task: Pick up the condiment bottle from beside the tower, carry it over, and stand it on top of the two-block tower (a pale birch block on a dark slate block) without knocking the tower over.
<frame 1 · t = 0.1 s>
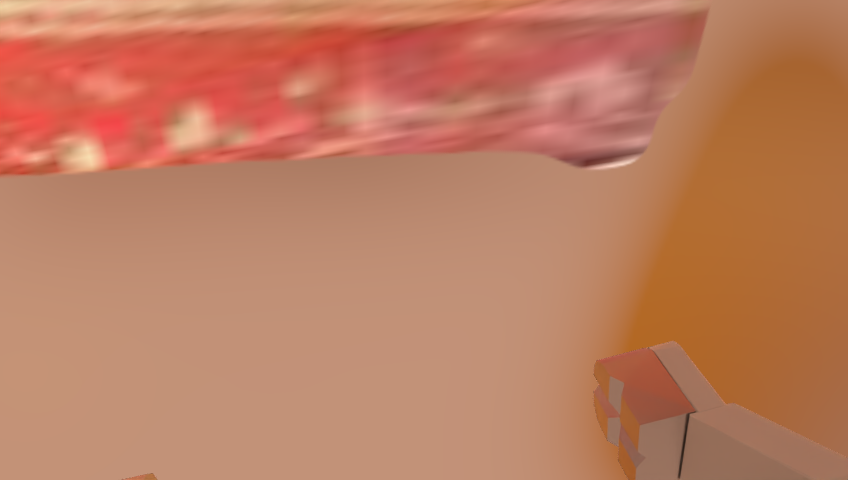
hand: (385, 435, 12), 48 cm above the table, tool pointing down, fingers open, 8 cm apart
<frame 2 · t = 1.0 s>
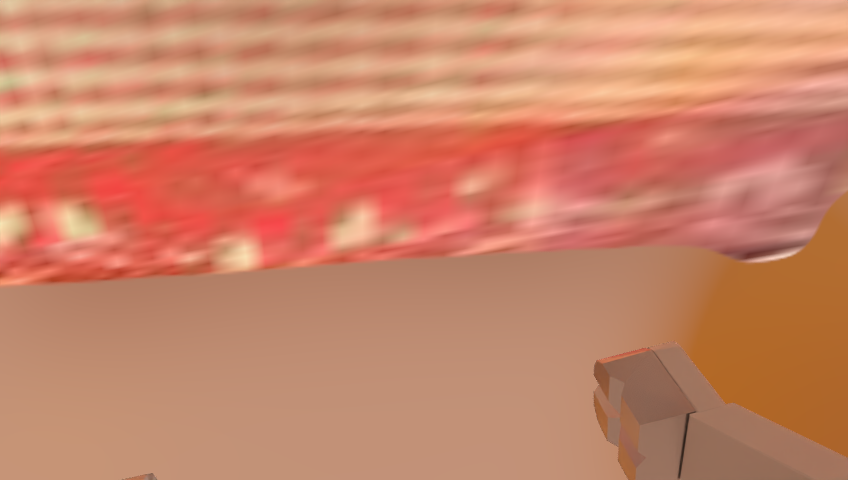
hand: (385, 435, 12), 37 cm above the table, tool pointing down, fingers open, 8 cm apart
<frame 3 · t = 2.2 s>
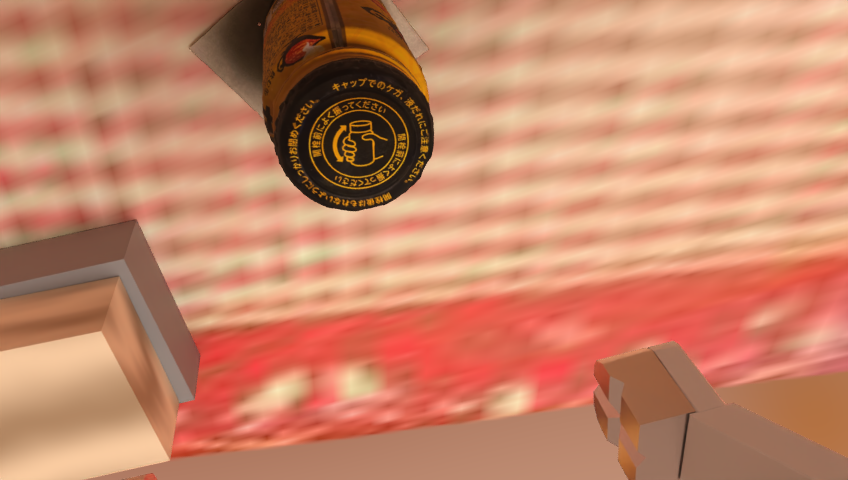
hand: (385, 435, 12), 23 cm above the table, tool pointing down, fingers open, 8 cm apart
tower block upper: (62, 362, 33), point 4 cm above the table, touching tower block lower
condiment: (312, 45, 31), on the table
tower block lower: (82, 308, 37), on the table, touching tower block upper
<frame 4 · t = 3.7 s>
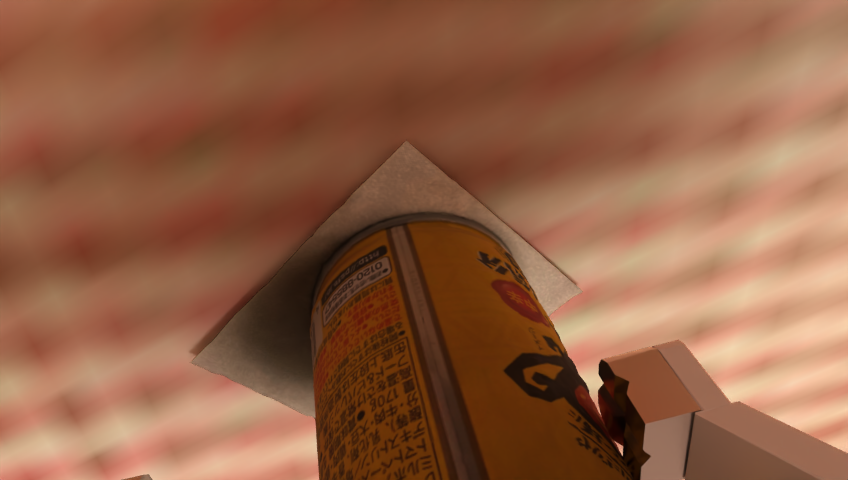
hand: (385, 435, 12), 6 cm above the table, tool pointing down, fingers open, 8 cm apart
condiment: (391, 314, 19), on the table, touching gripper
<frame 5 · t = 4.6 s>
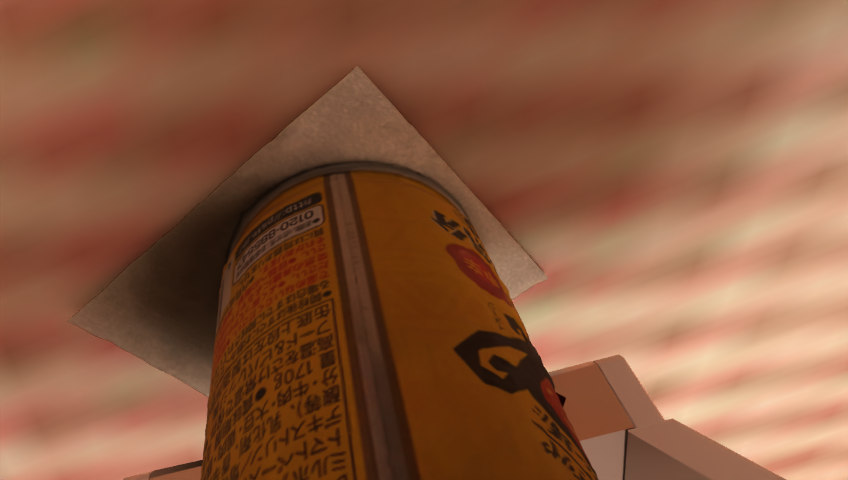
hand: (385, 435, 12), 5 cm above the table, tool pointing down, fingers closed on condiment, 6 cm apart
condiment: (323, 285, 16), on the table, touching gripper
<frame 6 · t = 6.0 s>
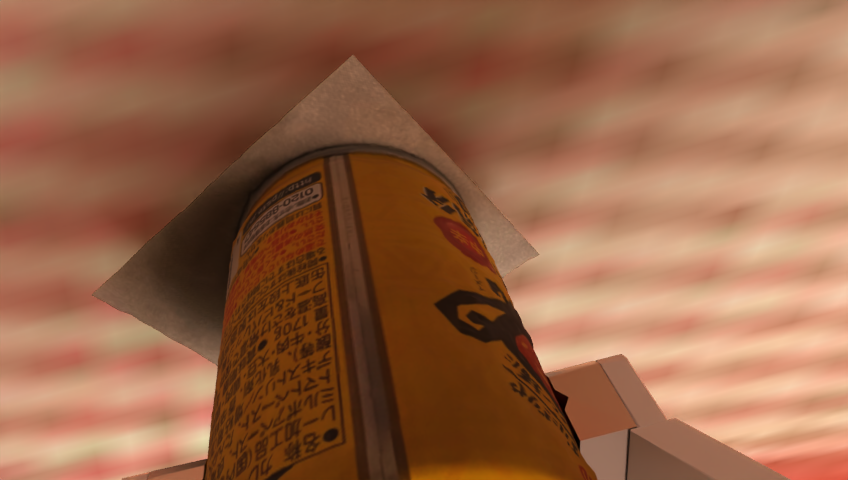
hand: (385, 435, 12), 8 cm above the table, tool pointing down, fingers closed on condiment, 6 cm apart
condiment: (327, 262, 17), point 2 cm above the table, touching gripper
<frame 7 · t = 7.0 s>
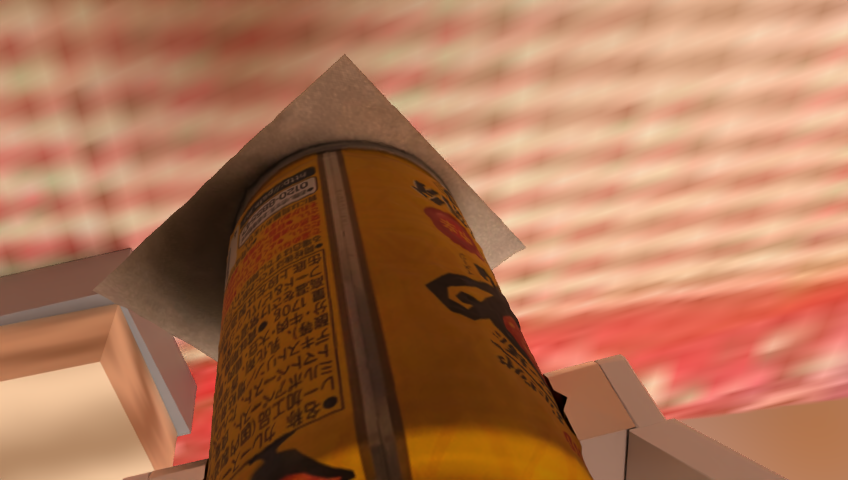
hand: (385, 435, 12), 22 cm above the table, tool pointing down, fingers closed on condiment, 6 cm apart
tower block upper: (56, 392, 32), point 4 cm above the table, touching tower block lower
condiment: (321, 257, 17), point 15 cm above the table, touching gripper
tower block lower: (75, 339, 35), on the table, touching tower block upper
when the fingers open (14 cm above the table, at t = 11.3 s): condiment moves 2 cm, resting on tower block upper.
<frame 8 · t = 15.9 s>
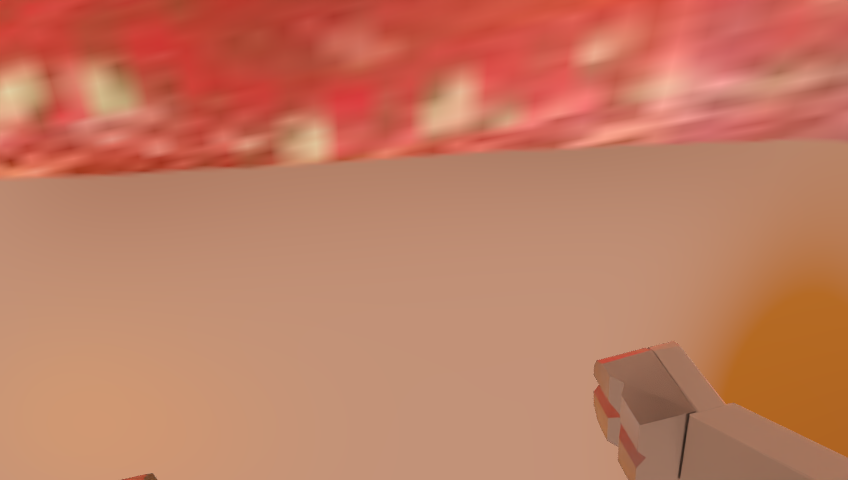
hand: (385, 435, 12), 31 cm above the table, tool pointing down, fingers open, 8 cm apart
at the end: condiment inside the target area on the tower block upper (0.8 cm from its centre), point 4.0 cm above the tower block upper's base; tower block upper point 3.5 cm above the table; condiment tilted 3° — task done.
